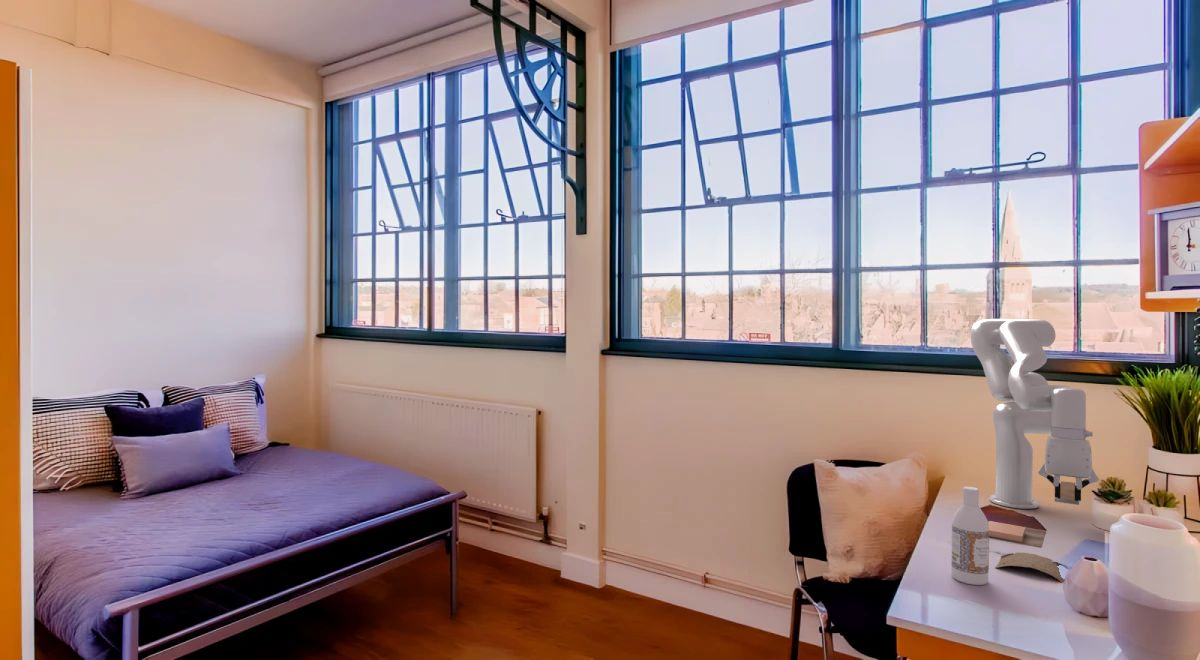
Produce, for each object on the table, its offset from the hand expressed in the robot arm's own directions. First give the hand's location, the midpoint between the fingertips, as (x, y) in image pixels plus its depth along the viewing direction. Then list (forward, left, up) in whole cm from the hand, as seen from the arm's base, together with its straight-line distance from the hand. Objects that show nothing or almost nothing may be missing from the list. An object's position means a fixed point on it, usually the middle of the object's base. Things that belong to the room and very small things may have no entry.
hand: (1067, 501), depth 168 cm
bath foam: (+54, -15, -8) cm, 56 cm away
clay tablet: (+38, -5, -9) cm, 39 cm away
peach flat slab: (+15, -12, -6) cm, 20 cm away
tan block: (+3, 0, +1) cm, 3 cm away
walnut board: (+17, -11, -8) cm, 22 cm away
